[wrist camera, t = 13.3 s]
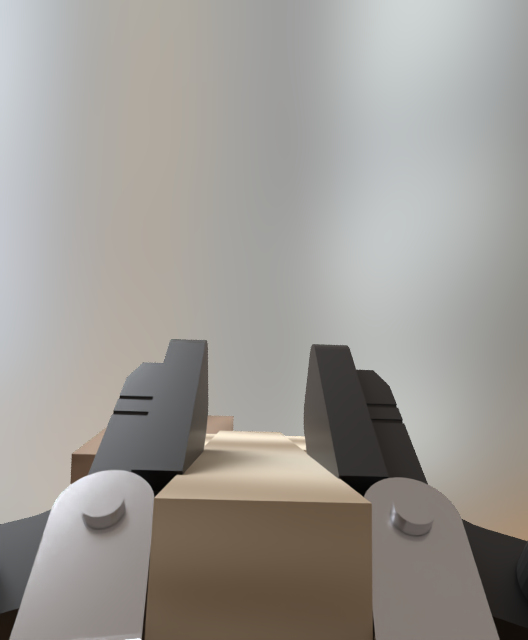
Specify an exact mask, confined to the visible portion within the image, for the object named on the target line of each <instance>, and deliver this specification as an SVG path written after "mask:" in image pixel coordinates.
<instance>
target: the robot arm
mask: <svg viewBox="0 0 528 640" xmlns="http://www.w3.org/2000/svg"><path fill="white" fill-rule="evenodd" d="M396 405H397V404H396V402H395V399H394V396H393V394H392V391H391V389H390V386H389V385H388V384H387V383H386V382H385V381H384V380H383V379H381V377H380V376H379V375H377V374H376V373H375V372H374V371H373V370H356V368H355V365H354V362H353V358H352V355H351V352H350V349H349V347H348V346H346V345H318V344H313V345H312V347H311V351H310V359H309V368H308V377H307V386H306V394H305V404H304V434H305V443H306V451H307V454H308V455H309V456H310V457H311V458H313V459H314V460H315V461H316V462H318V463H319V464H320V465H322V466H323V467H324V468H325V469H327V470H328V471H329V472H330V473H332V474H333V475H334V476H335V477H337V478H338V479H341V480H342V481H344V482H345V483H346V484H347V485H349V486H350V487H351V488H353V489H354V490H355V491H356V492H358V493H359V494H360V495H362V496H363V497H364V498H365V499H367V500H368V501H369V502H371V503H372V603H373V640H528V541H525V540H521V539H518V538H515V537H511V536H508V535H504V534H501V533H498V532H494V531H491V530H487V529H484V528H481V527H479V526H476V525H473V524H471V523H469V522H467V521H465V520H463V519H461V517H460V514H459V512H458V511H457V509H456V508H455V506H454V505H453V504H452V503H451V501H450V500H448V498H447V497H446V496H444V495H443V494H442V493H441V492H439V491H438V490H436V489H435V488H433V487H431V486H430V485H428V483H427V481H426V478H425V476H424V473H423V471H422V468H421V465H420V463H419V461H418V458H417V455H416V453H415V450H414V448H413V445H412V442H411V440H410V437H409V435H408V432H407V430H406V427H405V425H404V424H403V423H402V417H401V414H400V412H399V409H398V408H397V407H396ZM207 419H208V347H207V341H206V340H181V339H171V340H170V343H169V346H168V349H167V353H166V356H165V359H164V363H142V364H141V365H140V366H139V367H138V368H137V369H136V370H135V371H134V372H132V373H131V374H130V375H129V376H128V377H127V379H126V381H125V384H124V386H123V389H122V391H121V393H120V398H119V399H118V401H117V404H116V406H115V408H114V413H113V415H112V416H111V418H110V421H109V423H108V426H107V428H106V431H105V433H104V436H103V438H102V441H101V443H100V446H99V448H98V451H97V453H96V456H95V458H94V461H93V463H92V466H91V468H90V471H89V473H88V475H87V476H85V477H83V478H81V479H79V480H77V481H76V482H74V483H73V484H71V485H70V486H69V487H68V488H66V489H65V490H64V491H63V492H62V493H61V495H60V496H59V497H58V498H57V500H56V501H55V503H54V505H53V507H52V509H51V510H49V511H46V512H44V513H41V514H39V515H36V516H32V517H29V518H25V519H21V520H17V521H13V522H8V523H5V524H0V640H145V625H146V610H147V595H148V580H149V565H150V550H151V535H152V520H153V505H154V498H155V496H156V495H157V494H158V493H159V492H160V491H161V490H162V489H163V488H164V487H165V486H166V485H167V484H168V483H169V482H170V481H171V480H172V479H173V478H174V477H175V476H176V475H177V474H178V475H183V474H184V473H185V471H186V470H187V469H188V468H189V467H190V466H191V465H192V464H193V462H194V461H195V460H196V459H197V458H198V457H199V456H200V455H201V453H202V452H203V451H204V445H205V438H206V430H207Z"/></svg>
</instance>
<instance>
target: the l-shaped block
mask: <svg viewBox="0 0 528 640" xmlns="http://www.w3.org/2000/svg"><path fill="white" fill-rule="evenodd" d="M145 640H373V603H372V503H371V502H369V501H368V500H367V499H365V498H364V497H363V496H362V495H360V494H359V493H358V492H356V491H355V490H354V489H353V488H351V487H350V486H349V485H347V484H346V483H345V482H344V481H342V480H341V479H338V478H337V477H335V476H334V475H333V474H332V473H330V472H329V471H328V470H327V469H325V468H324V467H323V466H322V465H320V464H319V463H318V462H316V461H315V460H314V459H313V458H311V457H310V456H309V455H308V454H307V451H306V443H305V437H300V436H284V435H283V434H282V433H280V432H251V431H250V432H249V431H248V432H247V431H219V432H218V433H217V434H206V438H205V445H204V451H203V452H202V453H201V455H200V456H199V457H198V458H197V459H196V460H195V461H194V462H193V464H192V465H191V466H190V467H189V468H188V469H187V470H186V471H185V473H184V474H183V475H178V474H177V475H176V476H175V477H174V478H173V479H172V480H171V481H170V482H169V483H168V484H167V485H166V486H165V487H164V488H163V489H162V490H161V491H160V492H159V493H158V494H157V495H156V496H155V498H154V505H153V520H152V535H151V550H150V565H149V580H148V595H147V610H146V625H145Z"/></svg>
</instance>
